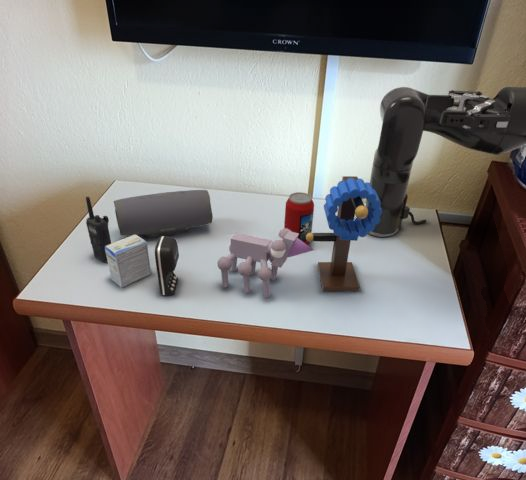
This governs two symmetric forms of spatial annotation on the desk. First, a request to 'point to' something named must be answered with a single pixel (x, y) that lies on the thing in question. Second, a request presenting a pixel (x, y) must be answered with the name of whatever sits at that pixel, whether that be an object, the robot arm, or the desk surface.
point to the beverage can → (299, 214)
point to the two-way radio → (98, 232)
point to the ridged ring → (357, 226)
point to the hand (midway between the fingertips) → (433, 109)
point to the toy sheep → (260, 256)
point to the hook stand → (340, 249)
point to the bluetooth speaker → (163, 212)
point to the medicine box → (128, 260)
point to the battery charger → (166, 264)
